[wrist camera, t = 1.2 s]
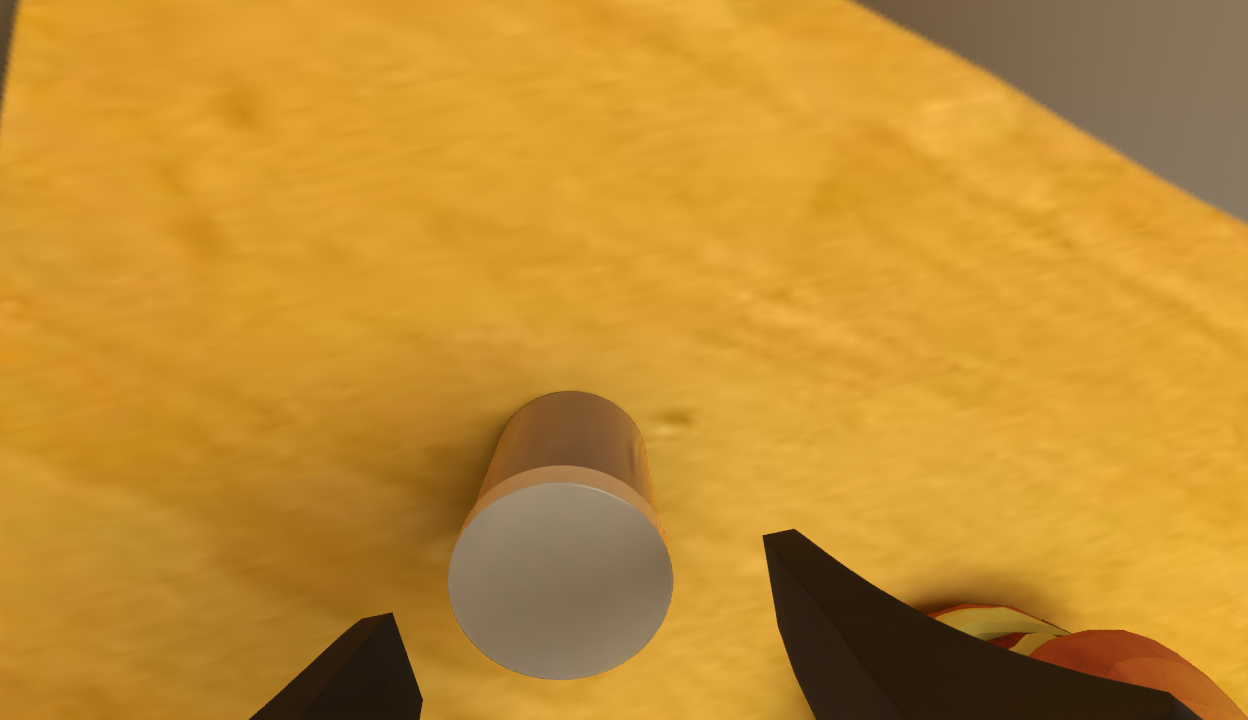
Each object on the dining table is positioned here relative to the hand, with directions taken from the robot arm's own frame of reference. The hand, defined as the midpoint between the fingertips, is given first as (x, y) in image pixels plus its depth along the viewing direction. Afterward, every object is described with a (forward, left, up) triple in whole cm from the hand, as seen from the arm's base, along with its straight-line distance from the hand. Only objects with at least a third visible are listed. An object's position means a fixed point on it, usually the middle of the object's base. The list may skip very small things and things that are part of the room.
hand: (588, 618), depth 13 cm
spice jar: (-1, 0, -10) cm, 10 cm away
